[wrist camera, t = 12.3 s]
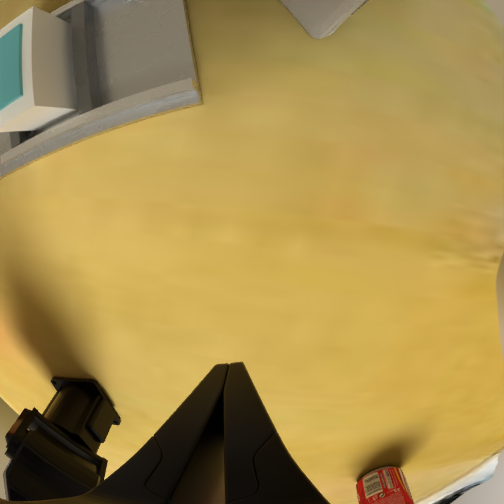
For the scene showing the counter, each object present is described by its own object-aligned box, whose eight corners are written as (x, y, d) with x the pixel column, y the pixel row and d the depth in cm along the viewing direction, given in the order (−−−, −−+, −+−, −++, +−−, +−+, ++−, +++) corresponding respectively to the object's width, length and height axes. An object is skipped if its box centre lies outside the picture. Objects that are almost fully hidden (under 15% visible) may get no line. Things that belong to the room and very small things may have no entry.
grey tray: (-9, 184, 19) (-28, 189, 16) (-19, 74, 15) (-37, 73, 13) (202, 104, 17) (194, 98, 15) (180, -29, 13) (172, -46, 11)
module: (38, 130, 16) (-12, 133, 11) (32, 49, 14) (-13, 37, 9) (80, 110, 16) (31, 105, 11) (73, 25, 14) (30, 4, 9)
